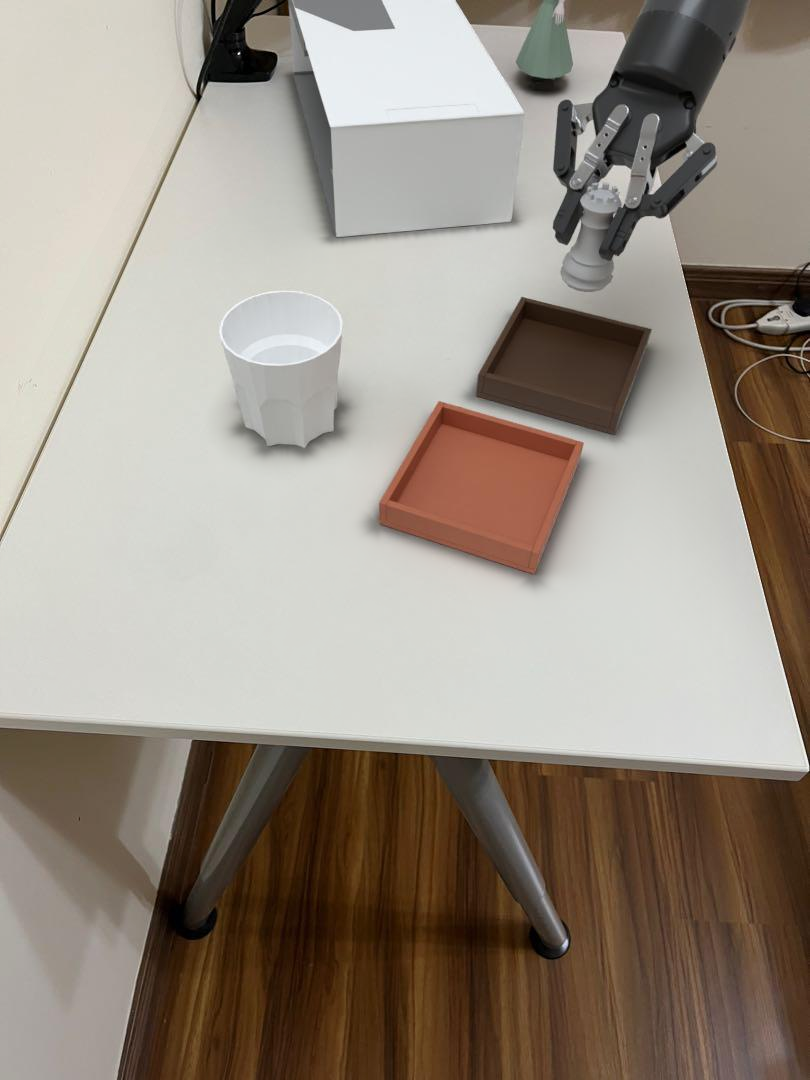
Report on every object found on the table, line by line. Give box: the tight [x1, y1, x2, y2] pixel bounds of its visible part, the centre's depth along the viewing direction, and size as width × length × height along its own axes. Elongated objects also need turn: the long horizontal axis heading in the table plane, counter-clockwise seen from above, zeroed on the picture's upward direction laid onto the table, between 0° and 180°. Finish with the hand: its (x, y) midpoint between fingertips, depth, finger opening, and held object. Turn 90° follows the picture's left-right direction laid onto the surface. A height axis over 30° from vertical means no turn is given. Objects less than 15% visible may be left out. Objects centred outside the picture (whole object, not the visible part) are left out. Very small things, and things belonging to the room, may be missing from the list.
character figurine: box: [515, 0, 574, 91], centre depth 117 cm, size 16×8×18 cm, turn 178°
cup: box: [218, 290, 344, 449], centre depth 73 cm, size 10×10×10 cm
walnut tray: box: [475, 296, 652, 436], centre depth 80 cm, size 13×13×3 cm
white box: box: [287, 0, 526, 238], centre depth 106 cm, size 45×21×12 cm, turn 11°
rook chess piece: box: [559, 182, 623, 293], centre depth 69 cm, size 4×4×8 cm
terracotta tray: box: [378, 400, 585, 575], centre depth 70 cm, size 13×13×3 cm
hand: (582, 248), depth 68 cm, fingers closed on rook chess piece, 3 cm apart
